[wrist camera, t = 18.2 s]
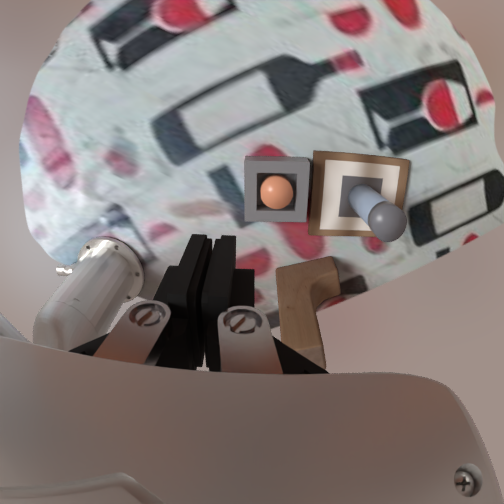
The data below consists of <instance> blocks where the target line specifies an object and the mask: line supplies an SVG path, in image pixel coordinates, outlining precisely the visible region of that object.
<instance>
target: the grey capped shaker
mask: <svg viewBox="0 0 504 504" xmlns="http://www.w3.org/2000/svg"><path fill="white" fill-rule="evenodd" d="M348 203H349V205H350V206H351V208H352V209H353V210H354V211H355V212H356V213H357V214H358V215H359V216H360V217H361V218H362V220H363V221H364V222H365V223H366V224H367V225H368V226H369V228H370V230H371V231H372V232H373V233H374V234H375V235H376V236H377V238H378V239H380V240H381V241H384V242H392V241H394V240H396V239H398V238H399V237H400V236H401V235H402V234H403V232H404V231H405V228H406V224H407V219H406V215H405V213H404V212H403V211H402V210H401V209H400V208H398V207H397V206H396V205H395V204H393V203H392V202H389V201H388V200H387V199H386V198H384V197H383V196H382V195H380V194H379V193H378V192H376V191H375V190H374V189H372V188H371V187H370V186H368V185H366V184H358V185H356V186H354V187H353V188H352V189H351V190H350V192H349V195H348Z"/></svg>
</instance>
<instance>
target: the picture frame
mask: <svg viewBox="0 0 504 504" xmlns="http://www.w3.org/2000/svg"><path fill="white" fill-rule="evenodd" d="M408 168H409V160H407V159H401V158H393V157H385V156H376V155H366V154H356V153H344V152H330V151H313V169H312V185H311V199H310V213H309V225H308V234H309V235H324V236H366V237H377V236H376V235H375V234H374V233H373V232H372V231H371V230H370V228H369V226H368V225H367V224H366V223H365V222H364V221H363V220H362V218H361V217H360V216H359V215H358V214H357V213H356V212H355V211H354V210H353V209H352V208H351V206H350V205H349V203H348V195H349V192H350V190H351V189H352V188H353V187H354V186H356V185H358V184H366V185H368V186H370V187H371V188H372V189H374V190H375V191H376V192H378V193H379V194H380V195H382V196H383V197H384V198H386V199H387V200H388V201H389V202H392V203H393V204H395V205H396V206H397V207H398V208H400V209H401V210H402V207H403V201H404V195H405V189H406V183H407V176H408Z"/></svg>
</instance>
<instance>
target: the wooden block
mask: <svg viewBox="0 0 504 504" xmlns="http://www.w3.org/2000/svg"><path fill="white" fill-rule="evenodd" d="M276 282H277V294H278V306H279V318H280V331H281V342H282V343H284V344H285V345H287V346H288V347H290V348H292V349H293V350H295V351H296V352H298V353H299V354H301V355H302V356H304V357H306V358H307V359H309V360H310V361H312V362H313V363H315V364H317V365H318V366H320V367H321V368H323V369H326V361H325V354H324V348H323V342H322V338H321V334H320V329H319V324H318V320H317V316H316V309H317V307H318V306H319V305H320V304H321V303H322V302H323V301H324V300H326V299H328V298H331V297H334V296H337V295H339V294H340V292H341V290H340V282H339V274H338V269H337V267H336V265H335V262H334V260H333V258H332V257H331V256H329V257H324V258H320V259H316V260H311V261H307V262H302V263H298V264H293V265H289V266H284V267H280V268H277V269H276Z"/></svg>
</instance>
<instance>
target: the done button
mask: <svg viewBox="0 0 504 504" xmlns="http://www.w3.org/2000/svg"><path fill="white" fill-rule="evenodd" d="M292 197H293V190H292V187H291V184H290V182H289V180H288V179H287V178H286V177H285V176H283V175H281V174H271V175H268V176H267V177H265V178H264V180H263V181H262V183H261V199H262V201H263V202H264V204H265V205H266V206H268V207H270V208H272V209H281V208H284V207H286V206H287V205H288V204H289V203H290V202H291V200H292Z"/></svg>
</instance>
